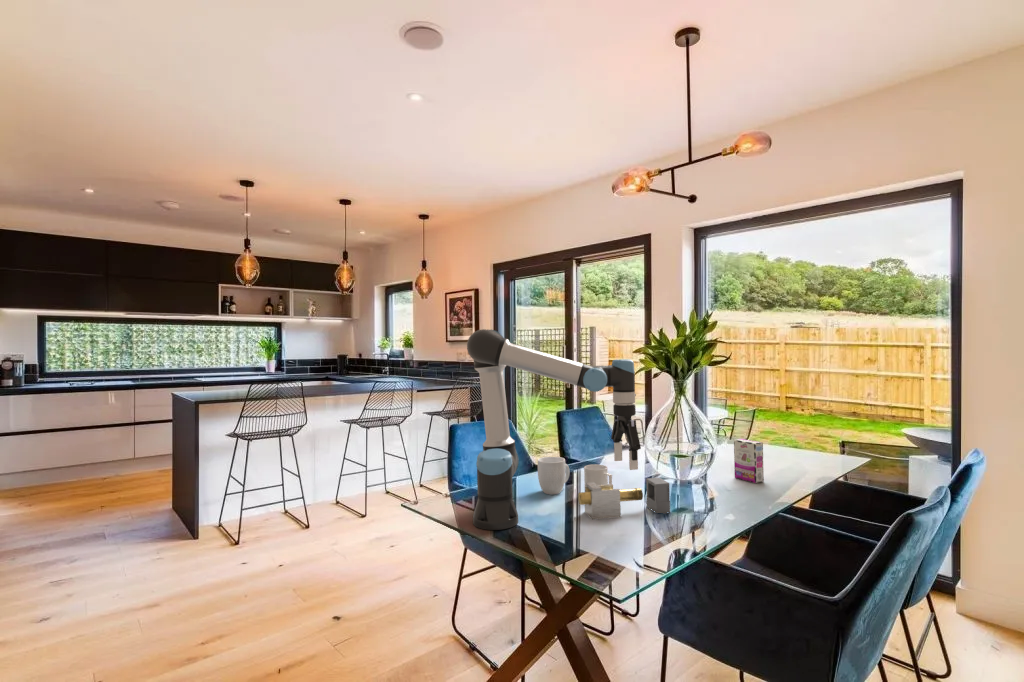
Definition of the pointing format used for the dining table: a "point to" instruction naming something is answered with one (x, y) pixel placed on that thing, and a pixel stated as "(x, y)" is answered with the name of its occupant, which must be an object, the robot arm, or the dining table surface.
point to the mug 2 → (597, 474)
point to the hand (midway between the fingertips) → (625, 465)
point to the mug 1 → (552, 474)
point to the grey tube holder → (603, 501)
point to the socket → (658, 495)
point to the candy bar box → (748, 460)
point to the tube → (624, 496)
